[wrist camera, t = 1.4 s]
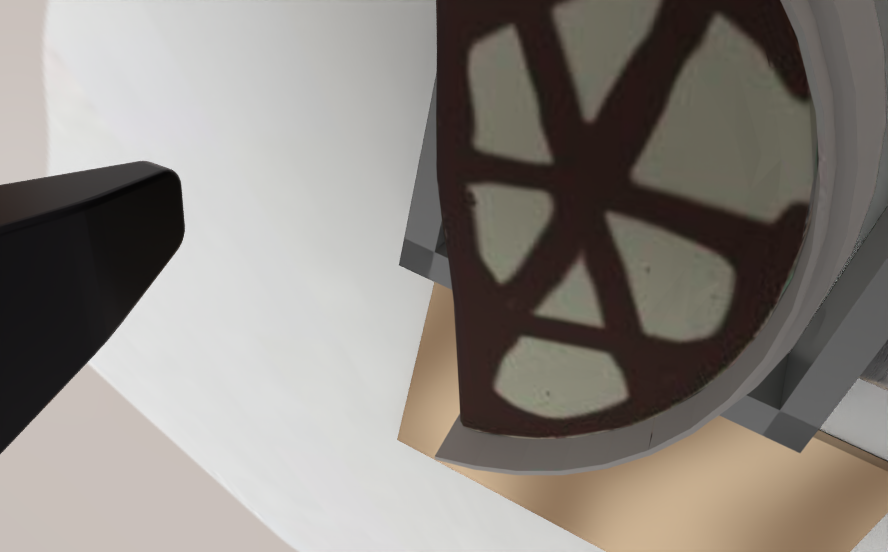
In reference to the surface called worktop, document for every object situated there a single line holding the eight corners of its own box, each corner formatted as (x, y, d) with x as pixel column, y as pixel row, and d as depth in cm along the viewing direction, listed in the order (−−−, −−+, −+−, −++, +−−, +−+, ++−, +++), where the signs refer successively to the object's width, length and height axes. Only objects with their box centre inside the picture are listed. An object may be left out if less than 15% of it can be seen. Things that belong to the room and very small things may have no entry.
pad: (914, 474, 21) (914, 483, 21) (768, 628, 26) (767, 637, 26) (444, 258, 25) (438, 264, 24) (402, 433, 30) (397, 439, 30)
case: (1376, -395, 11) (1481, -432, 9) (800, 403, 21) (792, 462, 20) (605, -520, 14) (561, -568, 12) (433, 237, 24) (397, 275, 23)
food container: (817, 282, 20) (778, 594, 12) (587, 242, 22) (436, 480, 14) (963, -315, 13) (1080, -453, 6) (615, -277, 16) (367, -338, 8)
